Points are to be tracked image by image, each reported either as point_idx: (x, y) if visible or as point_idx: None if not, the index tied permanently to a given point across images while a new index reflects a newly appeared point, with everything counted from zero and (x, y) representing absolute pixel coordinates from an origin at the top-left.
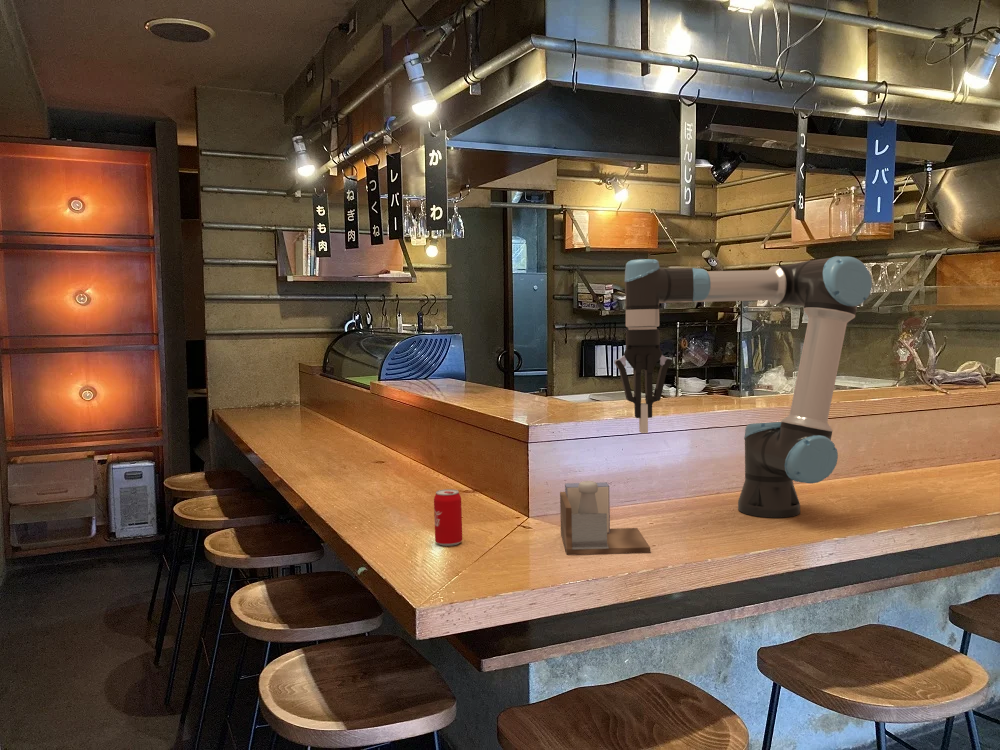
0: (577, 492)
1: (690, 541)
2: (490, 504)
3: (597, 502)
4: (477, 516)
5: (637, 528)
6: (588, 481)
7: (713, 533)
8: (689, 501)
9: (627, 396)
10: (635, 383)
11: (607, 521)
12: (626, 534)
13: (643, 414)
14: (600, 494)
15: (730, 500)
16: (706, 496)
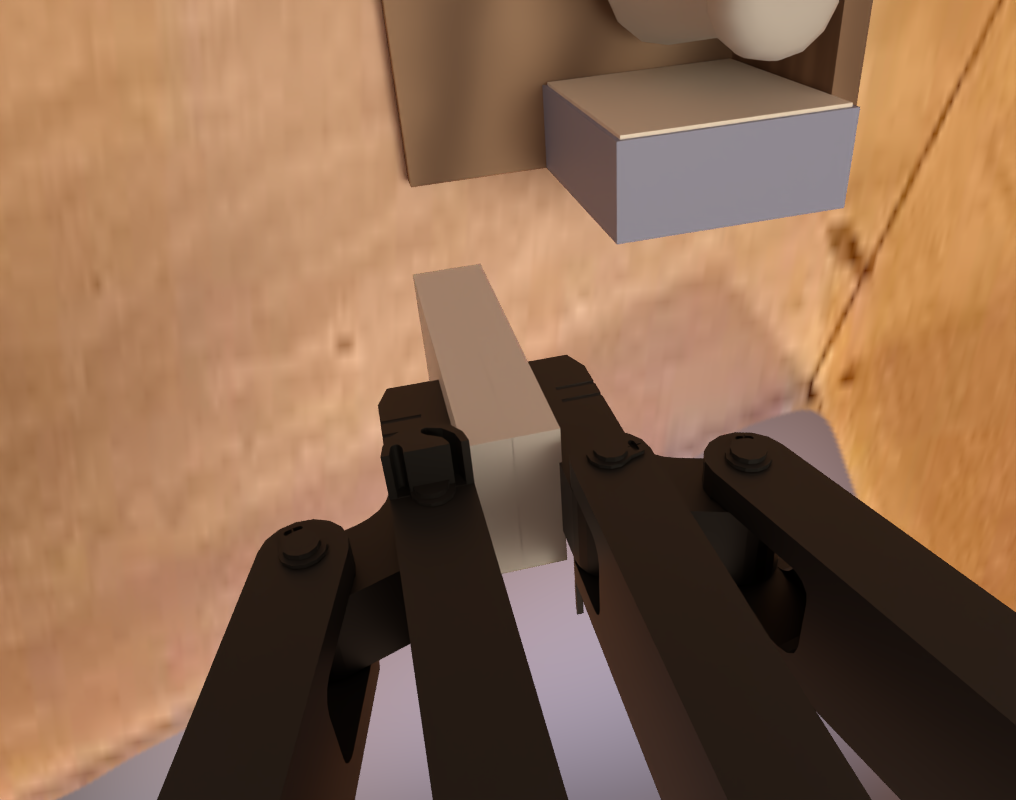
0: (783, 104)
1: (142, 36)
2: (900, 522)
3: (651, 105)
4: (977, 374)
5: (410, 177)
6: (787, 7)
7: (35, 196)
8: (192, 660)
9: (815, 469)
10: (792, 692)
11: (569, 90)
12: (466, 63)
13: (496, 361)
14: (651, 117)
15: (21, 698)
16: (128, 730)
